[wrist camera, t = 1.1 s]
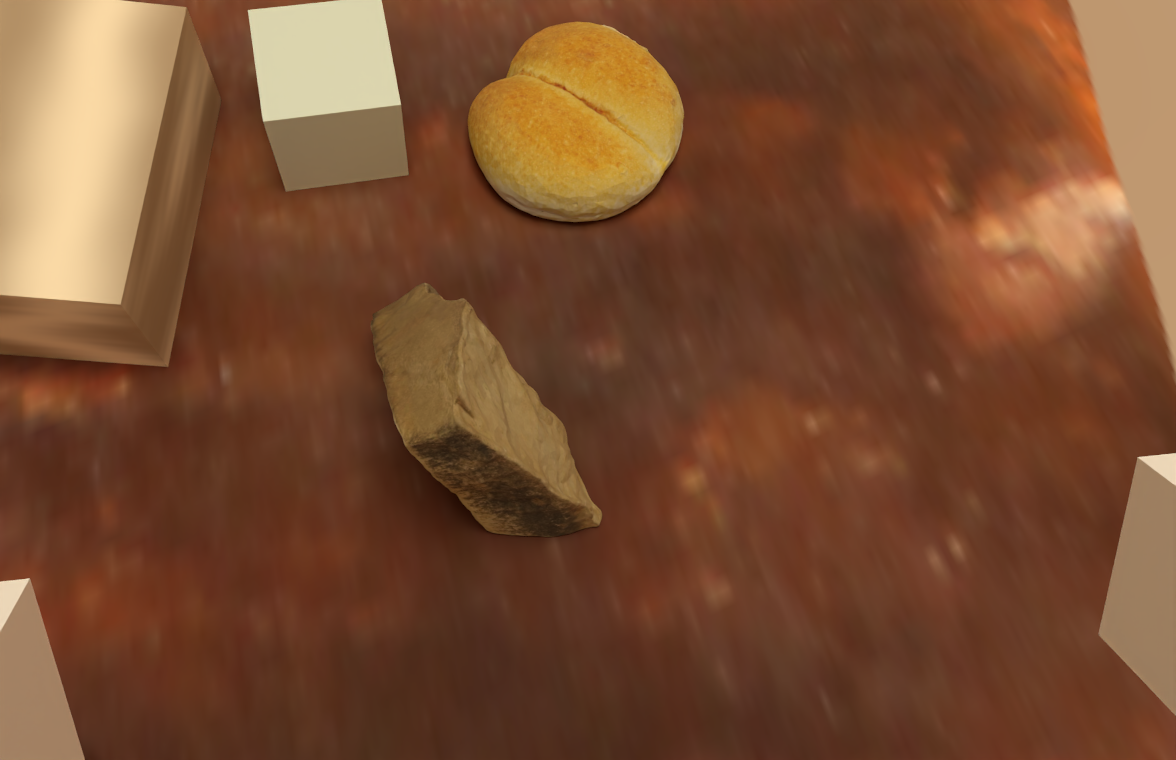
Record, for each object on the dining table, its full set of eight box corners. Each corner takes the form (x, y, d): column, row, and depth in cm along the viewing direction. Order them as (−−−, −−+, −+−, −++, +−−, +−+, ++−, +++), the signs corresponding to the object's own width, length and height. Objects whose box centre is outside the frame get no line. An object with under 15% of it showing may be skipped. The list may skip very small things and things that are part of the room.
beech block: (-162, 344, 39) (-269, 272, 33) (-75, 75, 43) (-158, -29, 37) (170, 369, 40) (120, 304, 34) (223, 103, 44) (186, 7, 38)
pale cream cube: (286, 192, 42) (263, 121, 38) (272, 90, 44) (247, 10, 39) (408, 176, 43) (401, 104, 39) (390, 76, 45) (380, -4, 40)
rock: (301, 267, 39) (284, 520, 34) (435, 146, 33) (436, 426, 29) (526, 351, 46) (537, 572, 41) (667, 261, 40) (699, 503, 35)
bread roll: (434, 162, 44) (429, 106, 40) (558, 27, 47) (565, -36, 43) (593, 271, 43) (604, 224, 39) (710, 126, 46) (730, 70, 42)
